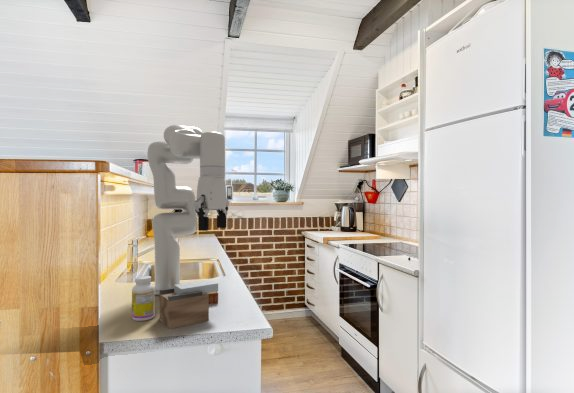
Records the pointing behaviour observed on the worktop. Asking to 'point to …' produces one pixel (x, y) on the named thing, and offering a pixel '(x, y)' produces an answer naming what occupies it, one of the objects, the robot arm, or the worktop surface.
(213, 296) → the carton
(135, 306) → the supplement bottle
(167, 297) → the slot box
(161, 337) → the worktop surface
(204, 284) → the cover plate
